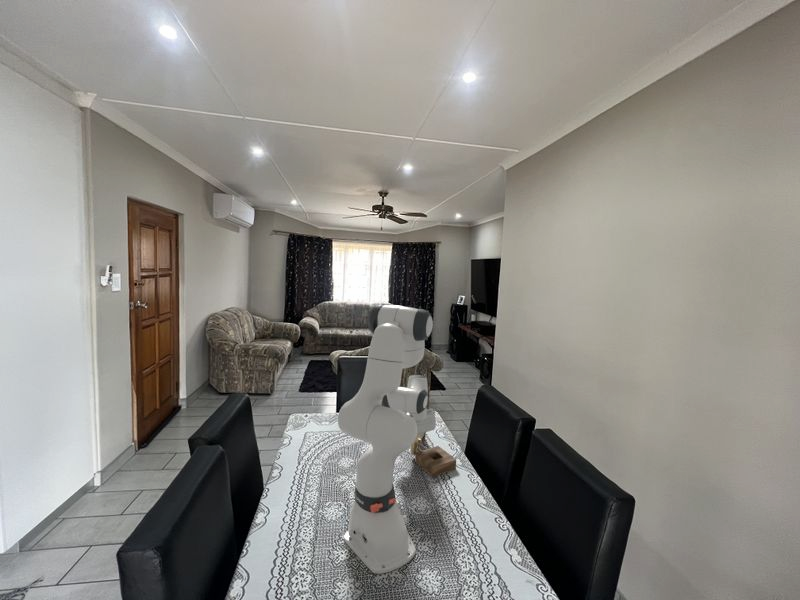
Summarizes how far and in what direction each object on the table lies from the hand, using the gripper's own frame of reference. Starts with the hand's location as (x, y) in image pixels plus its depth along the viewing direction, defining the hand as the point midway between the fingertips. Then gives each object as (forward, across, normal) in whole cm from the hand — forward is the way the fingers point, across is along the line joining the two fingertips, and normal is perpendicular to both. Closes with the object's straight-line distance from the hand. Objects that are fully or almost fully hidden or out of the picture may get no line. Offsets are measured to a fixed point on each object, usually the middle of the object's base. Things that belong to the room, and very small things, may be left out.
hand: (414, 443), depth 141 cm
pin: (+4, 0, 0) cm, 4 cm away
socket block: (+6, -4, +9) cm, 12 cm away
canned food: (+6, -11, -13) cm, 18 cm away
